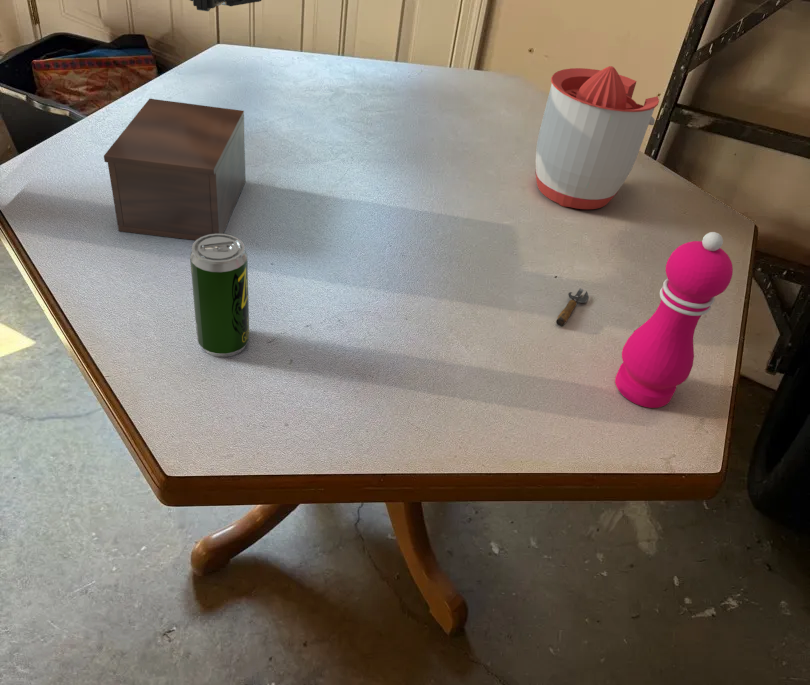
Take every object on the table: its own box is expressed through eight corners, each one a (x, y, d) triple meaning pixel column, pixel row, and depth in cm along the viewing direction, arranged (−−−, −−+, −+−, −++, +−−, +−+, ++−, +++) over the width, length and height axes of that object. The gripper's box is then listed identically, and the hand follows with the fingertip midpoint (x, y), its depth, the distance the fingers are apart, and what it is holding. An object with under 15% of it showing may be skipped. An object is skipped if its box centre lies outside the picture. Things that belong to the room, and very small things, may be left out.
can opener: (562, 328, 84) (564, 321, 83) (545, 320, 85) (547, 312, 84) (592, 296, 90) (594, 289, 89) (575, 288, 91) (578, 281, 90)
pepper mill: (617, 407, 75) (689, 249, 62) (604, 362, 80) (668, 209, 68) (683, 415, 75) (768, 259, 62) (666, 370, 81) (741, 218, 68)
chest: (219, 243, 89) (215, 172, 83) (118, 231, 88) (106, 159, 82) (245, 181, 102) (244, 116, 96) (157, 171, 101) (150, 104, 95)
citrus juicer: (649, 215, 109) (700, 88, 97) (551, 221, 104) (591, 87, 91) (599, 168, 120) (639, 48, 108) (508, 171, 115) (538, 45, 102)
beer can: (199, 361, 72) (190, 264, 65) (196, 328, 76) (187, 233, 69) (252, 356, 74) (250, 261, 66) (246, 324, 78) (244, 231, 70)
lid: (214, 175, 82) (213, 169, 82) (104, 162, 82) (103, 155, 81) (244, 116, 96) (243, 110, 95) (150, 104, 95) (149, 98, 94)
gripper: (183, -65, 102) (147, -37, 89) (274, -51, 103) (252, -22, 90) (187, -9, 107) (153, 25, 94) (274, 3, 108) (253, 39, 95)
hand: (201, 2), depth 92 cm, fingers closed
